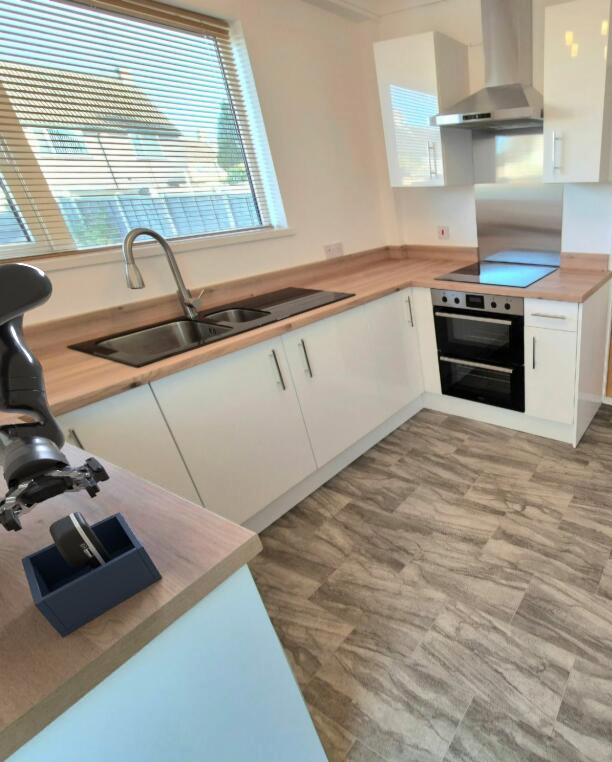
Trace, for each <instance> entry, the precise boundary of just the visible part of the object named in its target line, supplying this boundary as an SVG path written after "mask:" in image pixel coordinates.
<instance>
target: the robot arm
mask: <svg viewBox="0 0 612 762" xmlns="http://www.w3.org/2000/svg"><path fill="white" fill-rule="evenodd" d="M52 295H53V284H52V281H51V279H50V278H49V276H48V275H47V274H46V273H45V272H43V271H42V270H41V269H39V268H37V267H35V266H32V265H30V264H29V265H28V264H25V263H16V262H13V263H9V262H8V263H4V264H3V263H2V264H0V413H3V414H12V415H13V414H14V415H24V416H27V417H31V418H32V419H33V420H34V421H29V422H27V421H26V422H17V423H16V422H15V423H6V424H5V423H4V424H0V467H3V469H2V471H3V473H2V476H3V479H4V480H5V482H6V486H7V489H8V490H7V492H6V493H5V495H4V496H2V497H0V525H2V527H3V529H5V531H7V532H11V531H14V532H15V533H18V532H19V531H22V530H23V526H22V523H21V519H20V517H21V516H23V515H26V514H29V513H30V512H31V511H33V509H35V508H36V507H37V506H38V505H39V504H42V503H43V502H45V501H47V500H50V499H53V498H55V497H57V496H60V495H62V494H65V493H80V492H81V491H82V490H86V492H87V494H88V495H89V497H90V499H94V498H96V497H98V495H97V494H98V493H100V492H101V489H100V487H99V485H98V483H100V482H101V483H104V482H106V481H108V480H110V478H111V477H110V476H109V474H108V472H107V471H106V469H105V467H104V466H103V465H102V464H101V462H100V461H99V460H97V459H96V458H95V457H94V456H93V457H88V458H87V459H85V460H84V461H85V463H83V465H81V466H78V467H75V466H71V464H70V462H69V460H68V459H67V456H66V455H65V453H63V452H62V451H61V450H62V449H63V447H64V446H65V443H66V437H65V433H64V431H63V428H62V427H61V425H60V423H59V422H58V420H57V419H56V417H55V415H54V413H53V411H52V408H51V407H50V403H49V400H48V394H47V387H46V378H45V373H44V369H43V366H42V364H41V362H40V360H39V358H38V357H37V355H35V353H34V351H33V350H32V349H31V347H30V346H29V344H28V343H27V340H26V339H25V335H24V328H23V327H24V326H23V325H24V316H25V313H28V312H30V311H32V310H35V309H37V308H39V307H41V306H43V305H45V304H46V303H48V301H49V300H50V298H51V297H52Z"/></svg>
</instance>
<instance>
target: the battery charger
mask: <svg viewBox="0 0 612 762" xmlns="http://www.w3.org/2000/svg"><path fill="white" fill-rule="evenodd" d="M90 526H91V525H90V524H89V523H88V521H87V520H86V518H85V517H84V516H83V514H82V512H80V511H75V512H72V513H69V514H68V515H66V516H64V517H62V518H60V519H57V520H55V521H54V522H52V524H50V526H49V531H48V532H49V533H50V536H51V538H52V541H53V542H54V543H55V545H56V547H57V548H58V550H59V552H60V553H61V555H62V556H63V558H64V559H65V561H66V562H67V564H68V565H70V566H72V567H76V566H79V565H81V564H83V563H84V564H85V565H91V566H90V570H89V571H88V573H89V572H91V571H92V570H94V569H96V568H98V567H100V566H102V565H104V564H105V563H107V562H109V561H111V560H112V558H111V557H110V555H109V554H108V552H107V551H106V549H105V548H104V546H103V545H102V543H101V542H100V540H99V539H98V538H97V536H96V535H95V533H94V532H93V530H92V529H91V527H90Z"/></svg>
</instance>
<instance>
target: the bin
mask: <svg viewBox="0 0 612 762" xmlns="http://www.w3.org/2000/svg"><path fill="white" fill-rule="evenodd" d="M89 526H90V527H91V529H92V530H93V532H94V533H95V535H96V536H97V538H98V539H99V540H100V542H101V543H102V545H103V546H104V548H105V549H106V551H107V552H108V554H109V555H110V557H111V558H112V560H111V561H109V562H107V563H105V564H104V565H102V566H100V567H98V568H96V569H94V570H92V571H91V572H89V573H88V571H89V570H90V566H91V565H85V564H84V563H83V564H81V565H79V566H76V567H72V566H70V565H68V564H67V562H66V561H65V559H64V558H63V556H62V555H61V553H60V552H59V550H58V548H57V547H56V545H55V542H54V543H51V544H49V545H48V546H46V547H44V548H43V547H42V548H41V549H40V550H37V551H34V552H33V553H30V554H29V555H27V556H24V557H23V558H21V564H22V566H23V567H22V568H23V571H24V574H25V576H26V577H25V578H26V581H27V583H28V587H29V590H30V594H31V598H32V601H33V605H34V606H35V607H36V609H37V610H38V611H39V612H40V613H41V614H42V616H43V617H44V618H45V620H47V621H48V623H49V624H50V625H51V626H52V627H53V629H54V630H55V631H56V632H57V634H58V635H60V637H61V638H64V637H66V636H68V635H70V633H73V632H74V631H76V630H78V629H80V628H81V627H82V626H84V625H86V624H88V623H89V622H91V621H92V620H94V619H96V618H98V617H100V616H101V615H103V614H104V613H106V612H108V611H109V610H111V609H113V608H115V607H116V606H118V605H119V604H121V603H123V602H125V601H126V600H129V598H130V597H133V596H135V595H137V594H138V593H140V592H141V591H142V590H145V589H146V588H148V587H150V586H151V585H153V584H155V583H156V582H158V581H160V580H161V579H163V576H162V574H161V572H160V571H159V569H158V568H157V565H155V563H154V561H153V559H152V558H151V556H150V555H149V553H148V552H147V550H146V549H145V547H144V545H143V544H142V542H141V541H140V539H139V538H138V536H137V534H136V533H135V531H134V530H133V529H132V527H131V526H130V524H129V523H128V521H127V520H126V518H125V516H124V515H123V514H122V512H121V511H119V512H117V513H114V514H112V515H110V516H108V517H105V518H104V519H101V520H100V521H98V522H95V523H93V524H91V525H89Z"/></svg>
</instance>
